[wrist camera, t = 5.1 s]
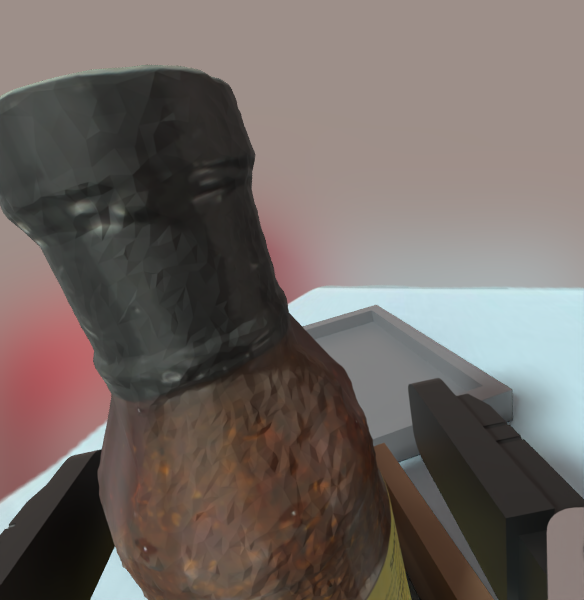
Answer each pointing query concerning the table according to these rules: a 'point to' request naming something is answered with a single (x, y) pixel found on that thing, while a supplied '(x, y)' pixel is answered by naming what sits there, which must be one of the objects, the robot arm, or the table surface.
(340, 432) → the sauce bottle
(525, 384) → the table surface
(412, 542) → the condiment box
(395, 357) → the serving tray
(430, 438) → the robot arm
